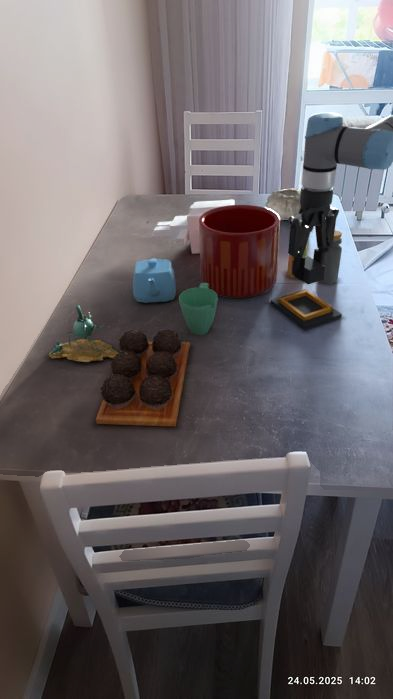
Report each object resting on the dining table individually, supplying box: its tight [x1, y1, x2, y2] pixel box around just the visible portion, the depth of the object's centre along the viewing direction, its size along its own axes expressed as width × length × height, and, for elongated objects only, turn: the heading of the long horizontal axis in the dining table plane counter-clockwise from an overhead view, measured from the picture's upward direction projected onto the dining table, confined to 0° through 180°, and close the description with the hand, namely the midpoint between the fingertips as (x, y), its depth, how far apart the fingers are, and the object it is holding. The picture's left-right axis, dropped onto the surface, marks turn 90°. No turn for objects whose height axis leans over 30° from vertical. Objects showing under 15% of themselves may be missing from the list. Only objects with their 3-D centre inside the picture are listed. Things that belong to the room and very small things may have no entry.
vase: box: [286, 240, 309, 280], centre depth 146 cm, size 6×6×14 cm
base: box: [269, 288, 343, 331], centre depth 132 cm, size 16×12×2 cm
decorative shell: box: [264, 187, 301, 221], centre depth 186 cm, size 18×18×10 cm
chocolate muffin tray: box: [95, 328, 191, 428], centre depth 108 cm, size 28×17×8 cm, turn 175°
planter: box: [199, 204, 281, 299], centre depth 142 cm, size 23×23×20 cm
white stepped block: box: [153, 199, 235, 255], centre depth 167 cm, size 15×25×28 cm
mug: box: [178, 282, 219, 336], centre depth 126 cm, size 15×10×10 cm
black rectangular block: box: [292, 255, 325, 285], centre depth 125 cm, size 7×5×4 cm
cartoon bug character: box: [48, 305, 120, 363], centre depth 117 cm, size 10×18×15 cm, turn 80°
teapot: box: [132, 257, 177, 304], centre depth 138 cm, size 12×18×12 cm
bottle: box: [318, 229, 343, 285], centre depth 142 cm, size 6×6×15 cm
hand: (307, 276), depth 126 cm, fingers closed on black rectangular block, 5 cm apart
